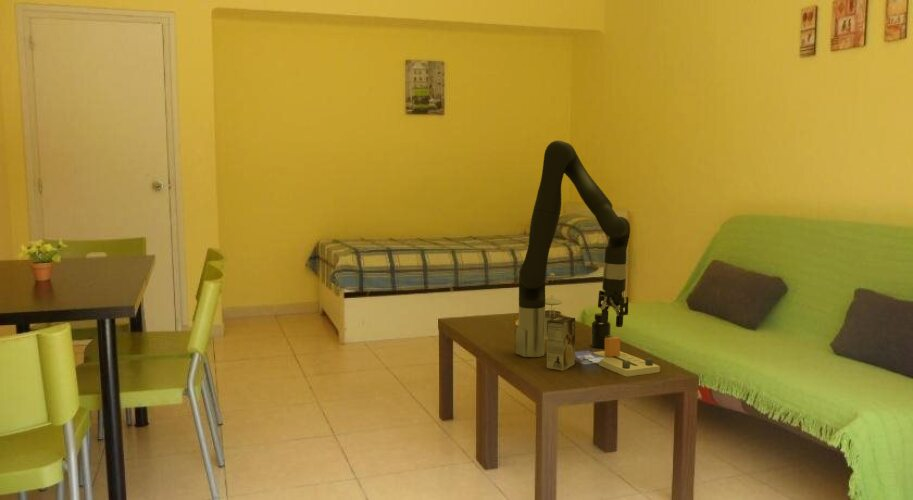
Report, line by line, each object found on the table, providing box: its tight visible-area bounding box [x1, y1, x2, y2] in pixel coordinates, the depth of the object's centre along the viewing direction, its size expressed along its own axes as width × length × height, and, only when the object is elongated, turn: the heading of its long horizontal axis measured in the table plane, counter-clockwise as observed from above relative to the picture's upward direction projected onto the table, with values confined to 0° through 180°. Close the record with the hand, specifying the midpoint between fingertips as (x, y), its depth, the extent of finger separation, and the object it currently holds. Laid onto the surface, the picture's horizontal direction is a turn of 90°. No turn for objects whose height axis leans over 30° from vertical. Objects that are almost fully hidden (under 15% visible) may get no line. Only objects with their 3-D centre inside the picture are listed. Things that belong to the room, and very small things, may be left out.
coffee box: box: [546, 315, 576, 372], centre depth 256 cm, size 9×6×16 cm
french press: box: [545, 272, 563, 340], centre depth 297 cm, size 10×12×25 cm
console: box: [593, 350, 661, 378], centre depth 258 cm, size 13×24×4 cm, turn 24°
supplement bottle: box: [590, 312, 611, 349], centre depth 284 cm, size 7×7×12 cm
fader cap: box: [604, 336, 621, 357], centre depth 262 cm, size 4×3×6 cm, turn 114°
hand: (611, 324), depth 261 cm, fingers open, 8 cm apart
